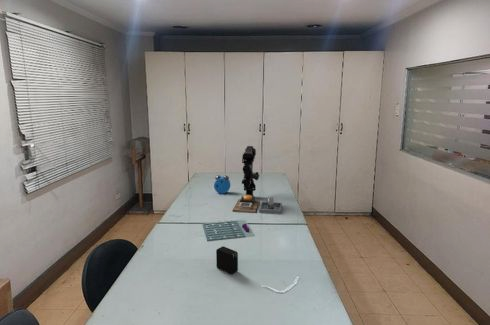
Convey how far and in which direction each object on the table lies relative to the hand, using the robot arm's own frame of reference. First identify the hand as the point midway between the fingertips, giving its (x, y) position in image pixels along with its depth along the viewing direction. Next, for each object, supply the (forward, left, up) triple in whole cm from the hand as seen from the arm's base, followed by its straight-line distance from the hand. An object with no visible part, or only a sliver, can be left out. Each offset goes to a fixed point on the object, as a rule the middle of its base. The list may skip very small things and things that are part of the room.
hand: (247, 190), depth 246 cm
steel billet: (+10, +18, -11) cm, 23 cm away
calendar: (+49, -5, -11) cm, 50 cm away
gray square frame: (+10, +18, -11) cm, 23 cm away
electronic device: (+95, +5, -11) cm, 95 cm away
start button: (0, 0, -7) cm, 7 cm away
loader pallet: (+7, 0, -11) cm, 12 cm away
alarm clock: (-22, -25, -11) cm, 35 cm away
